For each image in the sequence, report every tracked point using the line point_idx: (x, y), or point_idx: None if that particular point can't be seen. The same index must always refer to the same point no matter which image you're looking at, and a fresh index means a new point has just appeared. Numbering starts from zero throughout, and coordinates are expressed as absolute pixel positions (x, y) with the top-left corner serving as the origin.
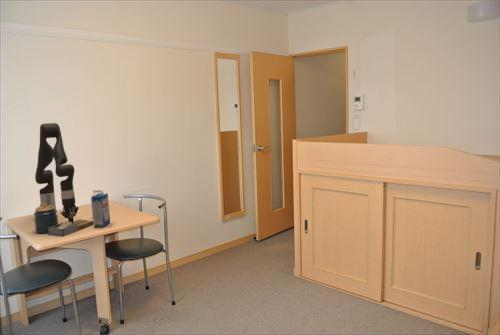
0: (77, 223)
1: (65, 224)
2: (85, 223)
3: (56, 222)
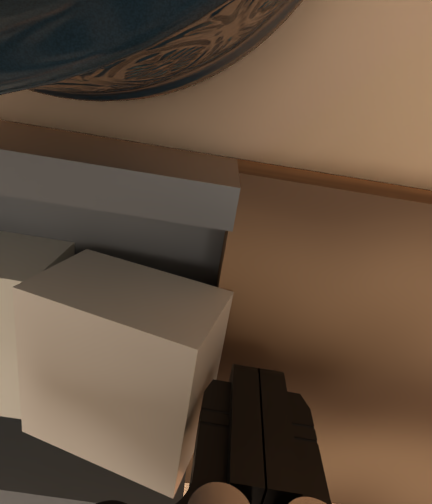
0: (395, 388)
1: (73, 401)
2: (381, 498)
3: (108, 83)
